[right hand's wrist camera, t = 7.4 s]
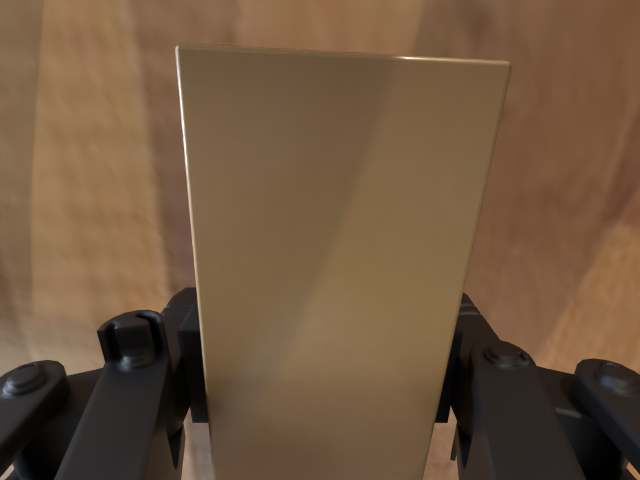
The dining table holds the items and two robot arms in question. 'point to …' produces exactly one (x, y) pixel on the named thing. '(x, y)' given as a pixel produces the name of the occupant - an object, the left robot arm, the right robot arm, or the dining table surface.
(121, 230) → the dining table surface
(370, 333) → the plank
